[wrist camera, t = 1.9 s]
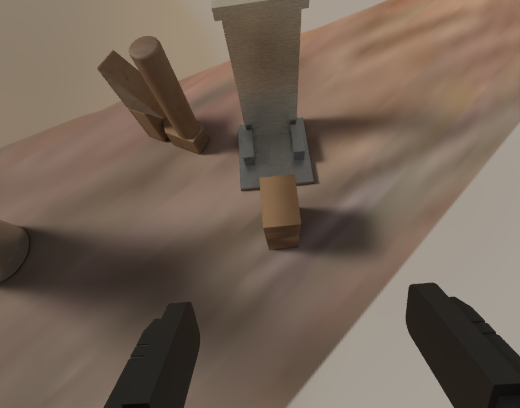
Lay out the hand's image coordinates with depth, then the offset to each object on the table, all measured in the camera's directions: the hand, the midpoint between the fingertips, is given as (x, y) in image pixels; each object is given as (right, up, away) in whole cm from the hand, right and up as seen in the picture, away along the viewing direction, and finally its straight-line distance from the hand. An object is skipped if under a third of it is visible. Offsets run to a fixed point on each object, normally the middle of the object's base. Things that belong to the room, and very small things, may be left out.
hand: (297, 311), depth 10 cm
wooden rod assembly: (-15, +15, +37) cm, 43 cm away
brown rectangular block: (+2, +1, +28) cm, 28 cm away
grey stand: (+1, +12, +33) cm, 36 cm away
